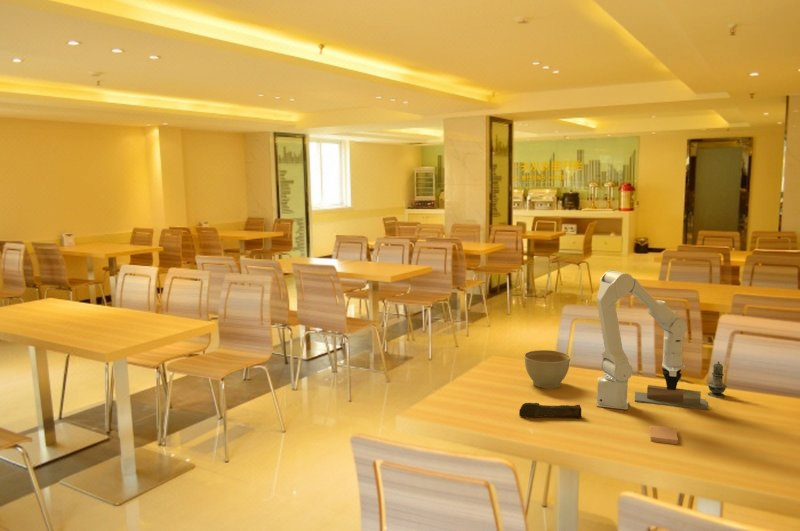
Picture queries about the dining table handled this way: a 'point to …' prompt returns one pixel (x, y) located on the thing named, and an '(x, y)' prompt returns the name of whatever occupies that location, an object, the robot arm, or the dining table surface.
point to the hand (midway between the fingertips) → (670, 391)
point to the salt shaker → (717, 382)
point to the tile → (663, 434)
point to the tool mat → (643, 398)
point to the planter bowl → (547, 367)
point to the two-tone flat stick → (674, 395)
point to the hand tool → (549, 410)
